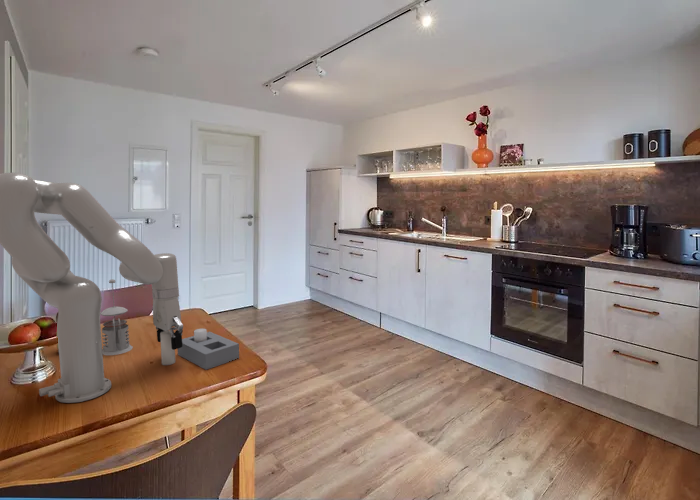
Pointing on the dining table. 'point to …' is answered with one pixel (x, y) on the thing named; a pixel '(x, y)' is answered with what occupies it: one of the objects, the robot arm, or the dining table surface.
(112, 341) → the french press
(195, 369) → the dining table surface
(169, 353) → the peg
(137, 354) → the dining table surface
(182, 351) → the socket block
